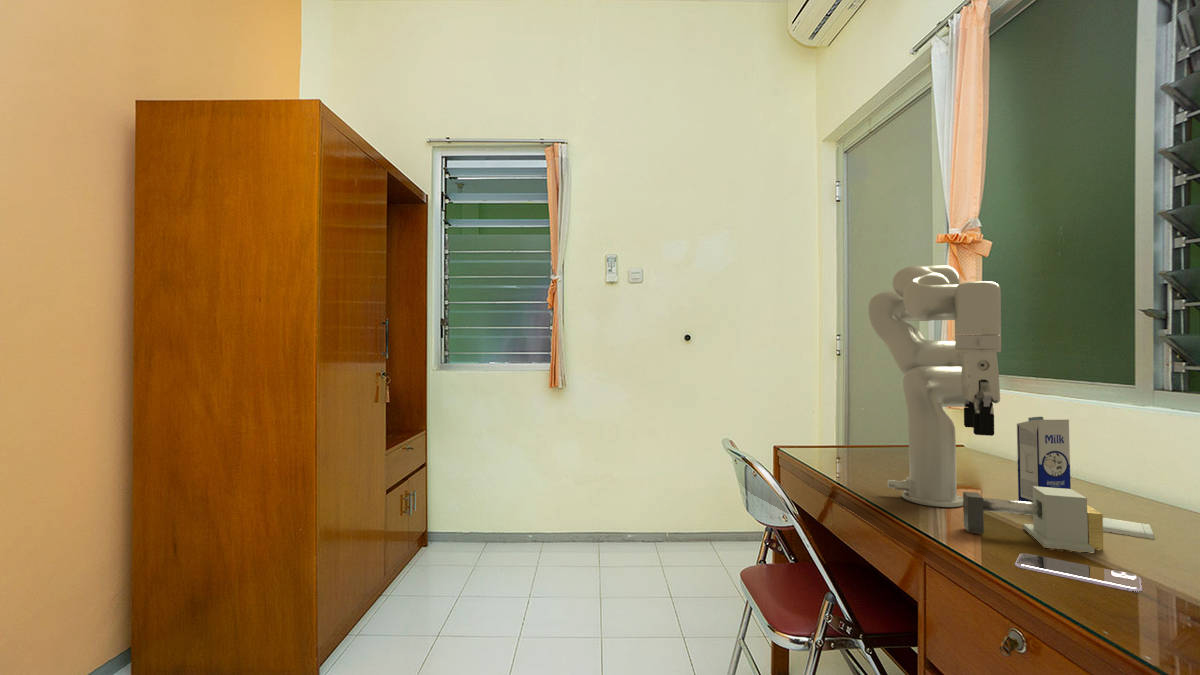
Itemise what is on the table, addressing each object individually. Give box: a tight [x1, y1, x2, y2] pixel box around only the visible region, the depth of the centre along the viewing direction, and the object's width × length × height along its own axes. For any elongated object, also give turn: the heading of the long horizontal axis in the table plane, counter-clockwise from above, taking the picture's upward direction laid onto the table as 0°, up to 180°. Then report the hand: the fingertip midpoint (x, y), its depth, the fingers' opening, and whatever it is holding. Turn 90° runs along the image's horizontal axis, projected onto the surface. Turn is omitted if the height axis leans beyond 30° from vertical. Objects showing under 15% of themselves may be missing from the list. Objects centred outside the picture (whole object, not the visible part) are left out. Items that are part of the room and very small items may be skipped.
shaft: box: [962, 491, 1042, 535], centre depth 105 cm, size 16×4×7 cm, turn 67°
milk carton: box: [1016, 416, 1072, 502], centre depth 127 cm, size 7×7×20 cm
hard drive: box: [1103, 517, 1155, 540], centre depth 110 cm, size 2×8×12 cm
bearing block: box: [1022, 486, 1095, 553], centre depth 103 cm, size 7×12×9 cm, turn 157°
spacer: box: [1087, 504, 1104, 551], centre depth 101 cm, size 2×6×6 cm, turn 157°
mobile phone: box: [1014, 552, 1143, 593], centre depth 88 cm, size 8×1×15 cm
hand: (978, 431), depth 109 cm, fingers open, 9 cm apart
